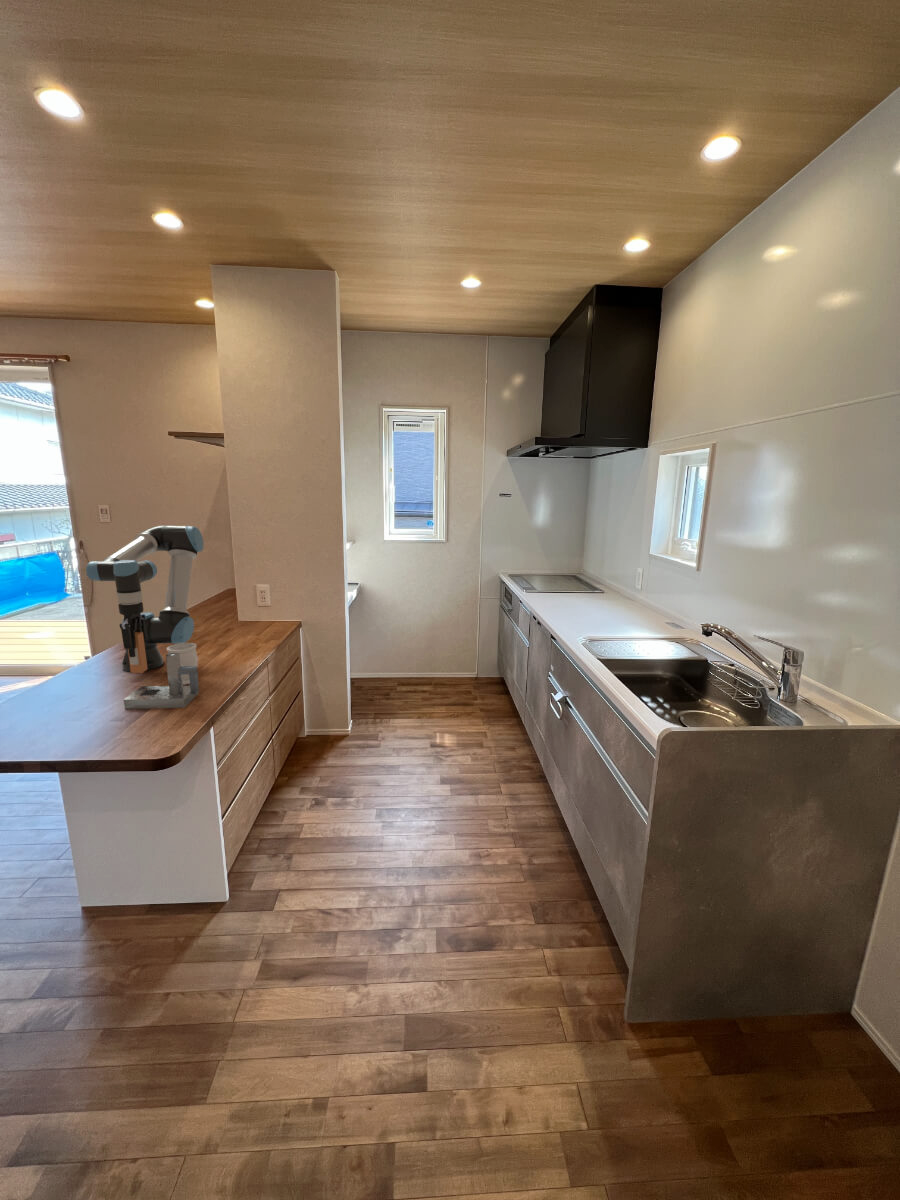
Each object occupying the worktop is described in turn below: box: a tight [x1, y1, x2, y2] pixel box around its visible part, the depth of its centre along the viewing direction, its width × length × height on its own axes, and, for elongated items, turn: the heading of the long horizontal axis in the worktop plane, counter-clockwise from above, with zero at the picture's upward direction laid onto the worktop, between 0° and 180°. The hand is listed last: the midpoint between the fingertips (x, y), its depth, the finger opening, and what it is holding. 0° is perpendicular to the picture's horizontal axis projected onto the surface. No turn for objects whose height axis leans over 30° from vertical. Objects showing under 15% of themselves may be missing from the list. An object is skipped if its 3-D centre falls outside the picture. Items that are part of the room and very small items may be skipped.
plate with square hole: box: [123, 653, 200, 710], centre depth 173 cm, size 12×22×18 cm, turn 97°
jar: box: [166, 642, 199, 686], centre depth 192 cm, size 11×10×15 cm
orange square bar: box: [128, 632, 148, 674], centre depth 180 cm, size 4×4×15 cm
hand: (138, 661), depth 180 cm, fingers closed on orange square bar, 4 cm apart
